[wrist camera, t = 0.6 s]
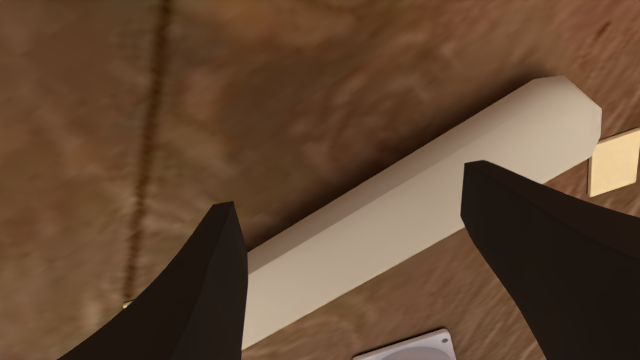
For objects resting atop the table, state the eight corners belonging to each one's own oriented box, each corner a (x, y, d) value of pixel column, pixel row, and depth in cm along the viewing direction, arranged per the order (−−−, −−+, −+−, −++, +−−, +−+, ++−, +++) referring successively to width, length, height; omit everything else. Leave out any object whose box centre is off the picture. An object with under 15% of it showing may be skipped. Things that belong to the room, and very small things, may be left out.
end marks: (632, 180, 26) (635, 182, 26) (155, 339, 29) (154, 343, 28) (638, 127, 24) (642, 129, 24) (123, 303, 26) (122, 306, 26)
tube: (598, 52, 17) (152, 320, 22) (647, 155, 18) (212, 391, 23) (538, 56, 22) (188, 272, 27) (579, 137, 23) (235, 331, 28)
